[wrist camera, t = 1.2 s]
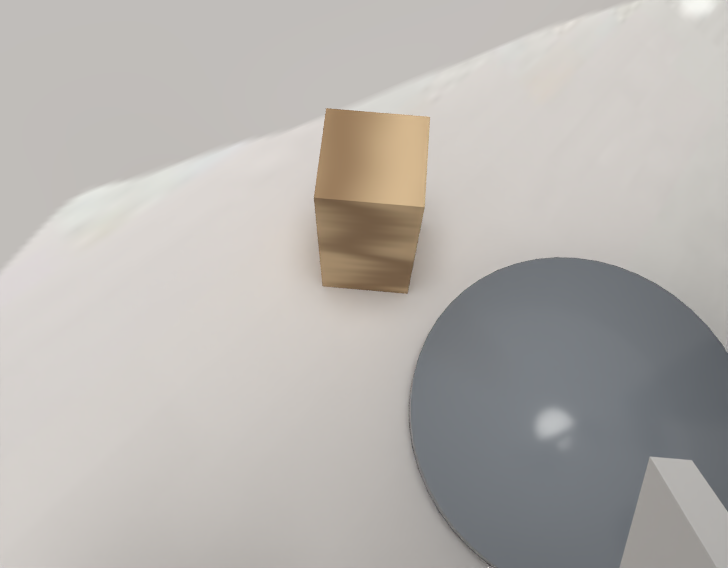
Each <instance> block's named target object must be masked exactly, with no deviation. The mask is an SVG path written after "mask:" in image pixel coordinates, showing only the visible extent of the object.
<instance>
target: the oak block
mask: <svg viewBox="0 0 728 568" xmlns="http://www.w3.org/2000/svg"><path fill="white" fill-rule="evenodd" d="M429 124H430V117H424V116H412V115H400V114H388V113H376V112H364V111H352V110H340V109H328V108H327V109H326V114H325V121H324V128H323V136H322V143H321V150H320V157H319V165H318V172H317V179H316V186H315V194H314V203H315V213H316V224H317V234H318V244H319V254H320V264H321V275H322V285H323V286H327V287H338V288H349V289H361V290H372V291H383V292H395V293H406V294H407V293H408V288H409V283H410V278H411V273H412V268H413V263H414V258H415V253H416V248H417V243H418V238H419V233H420V228H421V223H422V217H423V212H424V207H425V191H426V175H427V158H428V141H429Z"/></svg>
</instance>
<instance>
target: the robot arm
mask: <svg viewBox="0 0 728 568" xmlns="http://www.w3.org/2000/svg"><path fill="white" fill-rule="evenodd" d="M620 568H728V512H727V510H726V509H725V507H724V506H723V504H722V503H721V501H720V500H719V499H718V497H717V496H716V494H715V493H714V491H713V490H712V488H711V487H710V486H709V484H708V483H707V481H706V480H705V478H704V477H703V475H702V474H701V473H700V471H699V470H698V468H697V467H696V465H695V464H694V463H693V461H692V460H684V459H673V458H661V457H650V458H649V461H648V465H647V469H646V472H645V476H644V480H643V483H642V487H641V491H640V494H639V498H638V502H637V505H636V509H635V513H634V516H633V520H632V524H631V527H630V531H629V535H628V538H627V542H626V546H625V549H624V553H623V557H622V560H621V564H620Z"/></svg>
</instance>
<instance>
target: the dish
mask: <svg viewBox="0 0 728 568" xmlns="http://www.w3.org/2000/svg"><path fill="white" fill-rule="evenodd" d="M409 426H410V434H411V441H412V448H413V451H414V455H415V459H416V462H417V466H418V469H419V472H420V474H421V477H422V479H423V482H424V484H425V487H426V489H427V491H428V493H429V495H430V497H431V498H432V500H433V502H434V504H435V505H436V507H437V509H438V511H439V512H440V514H441V515H442V516H443V518H444V519H445V520H446V522H447V523H448V525H449V526H450V527H451V529H452V530H453V531H454V532H455V533H456V534H457V535H458V537H459V538H460V539H461V540H462V541H463V542H464V543H465V544H466V545H467V546H468V547H469V548H470V549H471V550H472V551H473V552H475V553H476V554H477V555H478V556H479V557H481V558H482V559H483V560H484V561H485V562H487V563H488V564H489V565H490V566H492V567H494V568H620V564H621V560H622V557H623V553H624V549H625V546H626V542H627V538H628V535H629V531H630V527H631V524H632V520H633V516H634V513H635V509H636V505H637V502H638V498H639V494H640V491H641V487H642V483H643V480H644V476H645V472H646V469H647V465H648V461H649V458H650V457H661V458H673V459H684V460H692V461H693V463H694V464H695V465H696V467H697V468H698V470H699V471H700V473H701V474H702V475H703V477H704V478H705V480H706V481H707V483H708V484H709V486H710V487H711V488H712V490H713V491H714V493H715V494H716V496H717V497H718V499H719V500H720V501H721V503H722V504H723V506H724V507H725V509H726V510H727V512H728V353H727V352H726V350H725V348H724V347H723V345H722V344H721V342H720V341H719V340H718V339H717V337H716V336H715V335H714V334H713V332H712V331H711V330H710V329H709V327H708V326H707V325H706V324H705V323H704V322H703V321H702V320H701V319H700V318H699V317H698V316H697V315H696V314H695V313H694V312H693V311H692V310H691V309H690V308H689V307H687V306H686V305H685V304H684V303H683V302H681V301H680V300H679V299H678V298H676V297H675V296H674V295H672V294H671V293H669V292H668V291H666V290H665V289H663V288H662V287H660V286H659V285H657V284H655V283H653V282H652V281H650V280H648V279H646V278H644V277H642V276H640V275H638V274H636V273H633V272H630V271H628V270H625V269H623V268H620V267H617V266H614V265H610V264H606V263H602V262H599V261H593V260H586V259H579V258H558V257H555V258H544V259H535V260H530V261H526V262H521V263H516V264H514V265H511V266H508V267H505V268H502V269H500V270H497V271H495V272H493V273H491V274H489V275H487V276H485V277H484V278H482V279H480V280H478V281H477V282H476V283H474V284H473V285H471V286H470V287H468V288H467V289H466V290H464V291H463V292H462V293H461V294H460V295H459V296H458V297H457V298H456V299H455V300H454V301H452V302H451V303H450V305H449V306H448V307H447V308H446V309H445V311H444V312H443V313H442V314H441V316H440V317H439V318H438V320H437V321H436V323H435V325H434V326H433V328H432V329H431V331H430V333H429V334H428V336H427V339H426V341H425V343H424V346H423V348H422V350H421V353H420V355H419V358H418V362H417V365H416V369H415V373H414V376H413V380H412V385H411V393H410V401H409Z"/></svg>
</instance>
